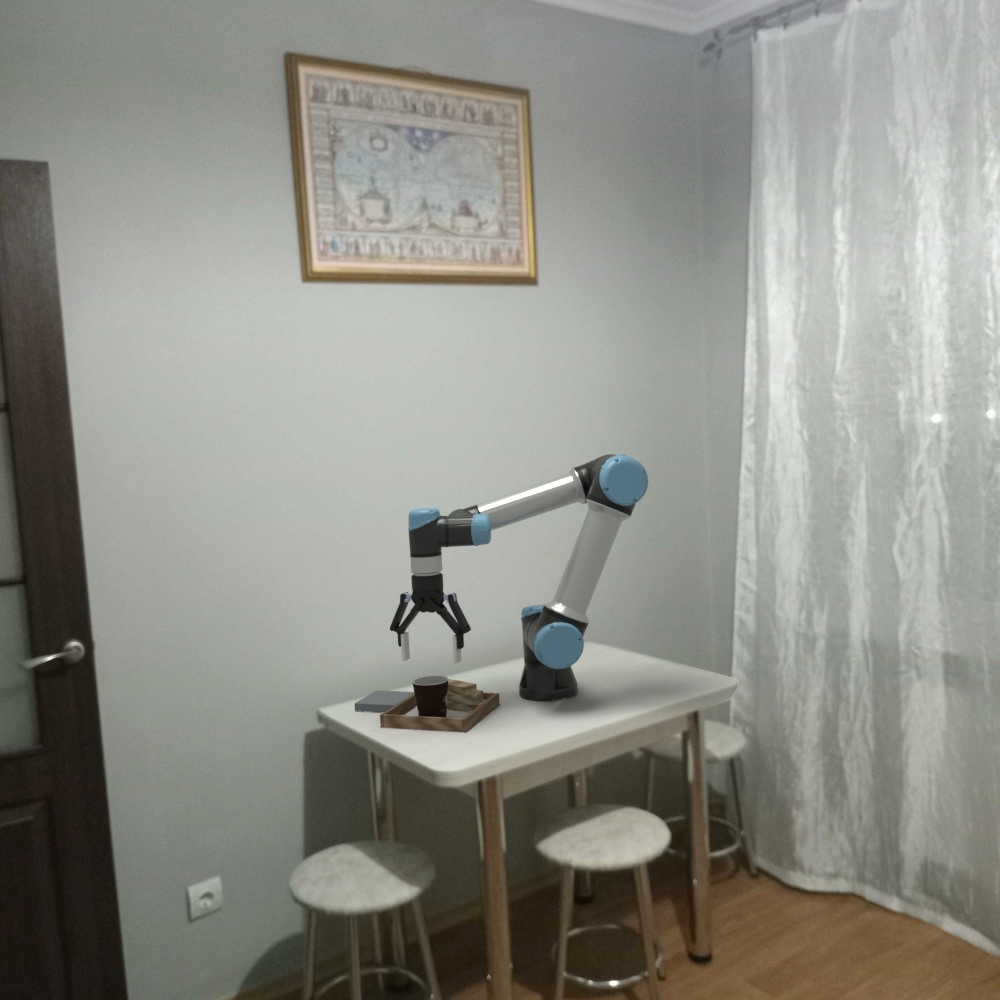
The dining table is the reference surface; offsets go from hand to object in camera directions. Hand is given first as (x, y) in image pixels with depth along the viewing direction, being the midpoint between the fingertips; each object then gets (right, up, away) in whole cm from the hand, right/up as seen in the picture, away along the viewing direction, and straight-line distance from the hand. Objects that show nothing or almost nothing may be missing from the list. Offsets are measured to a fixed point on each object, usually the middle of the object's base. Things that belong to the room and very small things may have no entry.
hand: (431, 661), depth 236 cm
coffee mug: (+1, -15, +1) cm, 15 cm away
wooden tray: (+2, -14, +4) cm, 15 cm away
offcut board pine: (+5, -12, +10) cm, 16 cm away
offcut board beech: (+6, -9, +10) cm, 15 cm away
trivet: (-12, -14, +16) cm, 25 cm away
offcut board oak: (+6, -14, +10) cm, 18 cm away
